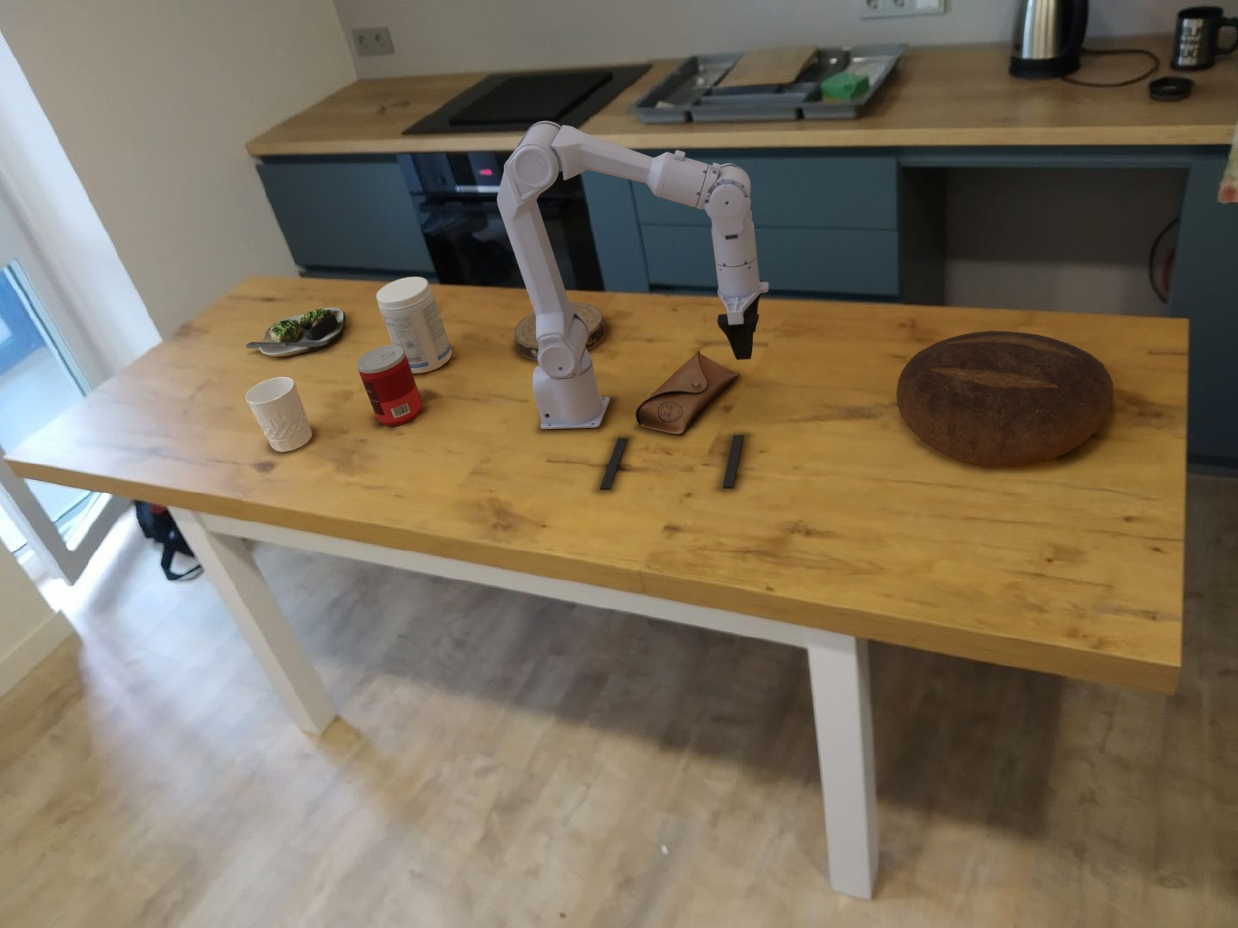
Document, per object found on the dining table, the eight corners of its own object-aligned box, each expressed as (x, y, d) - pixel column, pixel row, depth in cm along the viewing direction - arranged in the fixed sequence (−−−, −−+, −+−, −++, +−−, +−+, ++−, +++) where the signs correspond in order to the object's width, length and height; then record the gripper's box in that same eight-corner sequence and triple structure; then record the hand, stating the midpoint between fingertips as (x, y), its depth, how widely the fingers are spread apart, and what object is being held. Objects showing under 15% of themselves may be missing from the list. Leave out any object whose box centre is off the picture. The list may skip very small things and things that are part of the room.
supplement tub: (439, 343, 183) (416, 270, 175) (462, 359, 176) (439, 284, 168) (392, 364, 179) (366, 291, 171) (414, 381, 173) (388, 306, 164)
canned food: (432, 402, 165) (413, 345, 159) (405, 429, 160) (384, 371, 153) (396, 399, 169) (375, 343, 162) (368, 425, 163) (346, 368, 157)
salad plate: (243, 373, 188) (233, 352, 185) (256, 332, 203) (247, 312, 200) (342, 349, 188) (334, 328, 186) (349, 310, 203) (341, 290, 200)
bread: (928, 347, 151) (928, 296, 146) (1125, 367, 138) (1133, 312, 133) (868, 452, 133) (866, 398, 128) (1089, 488, 119) (1096, 428, 114)
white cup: (273, 460, 159) (249, 409, 154) (265, 439, 165) (241, 389, 160) (320, 441, 162) (298, 390, 156) (310, 421, 168) (288, 371, 162)
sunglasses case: (684, 434, 143) (658, 397, 142) (653, 446, 148) (628, 410, 147) (743, 372, 154) (720, 337, 153) (713, 385, 160) (690, 351, 158)
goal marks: (600, 489, 137) (599, 487, 137) (618, 439, 146) (618, 438, 146) (733, 488, 132) (732, 486, 132) (743, 436, 141) (743, 434, 141)
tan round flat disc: (545, 314, 185) (541, 300, 183) (620, 319, 178) (617, 304, 176) (501, 357, 174) (497, 342, 172) (579, 364, 167) (576, 349, 165)
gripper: (761, 279, 128) (770, 369, 136) (769, 233, 139) (777, 318, 147) (707, 283, 130) (719, 372, 137) (719, 237, 141) (730, 321, 149)
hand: (746, 344), depth 142 cm, fingers open, 7 cm apart
